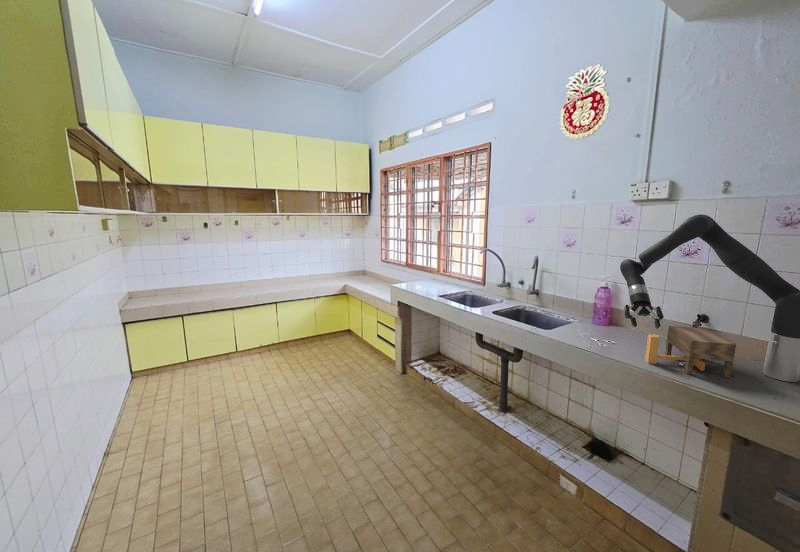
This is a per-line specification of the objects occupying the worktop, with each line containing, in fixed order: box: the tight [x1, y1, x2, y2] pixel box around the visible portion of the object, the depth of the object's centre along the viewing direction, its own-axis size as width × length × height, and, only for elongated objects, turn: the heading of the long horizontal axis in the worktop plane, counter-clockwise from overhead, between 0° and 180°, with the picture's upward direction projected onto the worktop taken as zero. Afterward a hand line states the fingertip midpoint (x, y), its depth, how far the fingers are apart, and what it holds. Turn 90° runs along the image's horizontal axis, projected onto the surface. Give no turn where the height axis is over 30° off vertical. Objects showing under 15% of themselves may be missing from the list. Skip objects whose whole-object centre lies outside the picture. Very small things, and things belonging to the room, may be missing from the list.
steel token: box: [678, 361, 695, 369], centre depth 138 cm, size 5×5×1 cm
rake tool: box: [644, 334, 706, 372], centre depth 139 cm, size 19×8×12 cm, turn 74°
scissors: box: [576, 332, 621, 348], centre depth 168 cm, size 11×1×20 cm
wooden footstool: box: [664, 325, 737, 379], centre depth 136 cm, size 14×18×14 cm
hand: (646, 327), depth 147 cm, fingers open, 8 cm apart
